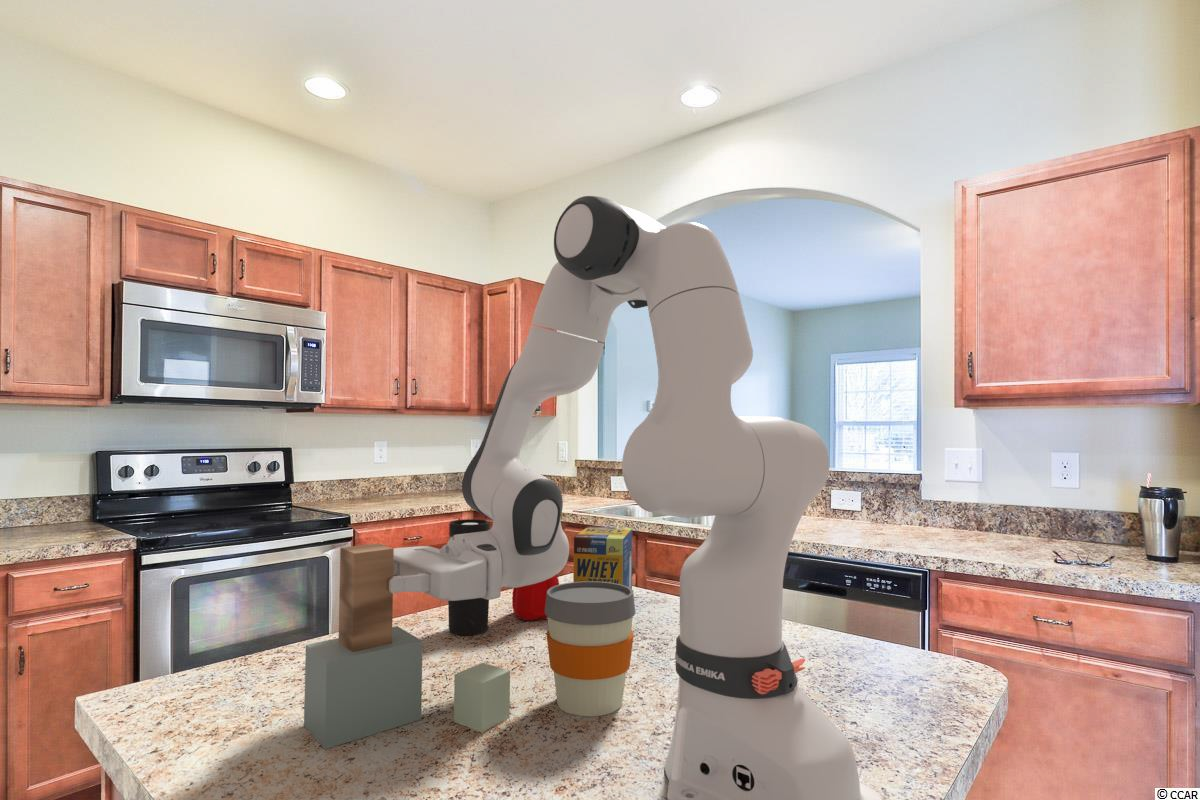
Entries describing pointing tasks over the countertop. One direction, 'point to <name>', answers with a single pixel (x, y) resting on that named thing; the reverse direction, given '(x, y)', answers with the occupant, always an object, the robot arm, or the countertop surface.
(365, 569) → the pillar
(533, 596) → the water bottle
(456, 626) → the travel mug
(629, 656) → the reusable coffee cup
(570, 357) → the robot arm
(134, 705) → the countertop surface
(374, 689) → the base block
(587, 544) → the protein box
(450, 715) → the countertop surface
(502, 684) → the cube
